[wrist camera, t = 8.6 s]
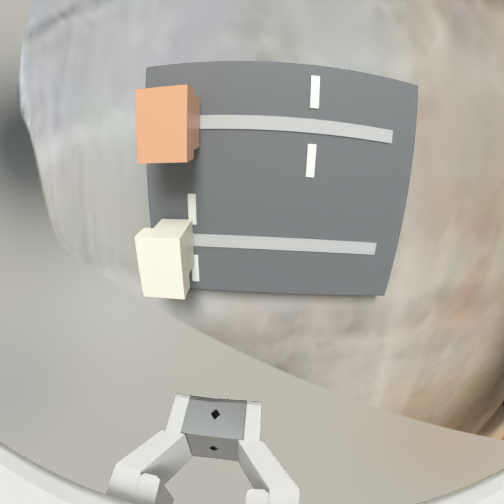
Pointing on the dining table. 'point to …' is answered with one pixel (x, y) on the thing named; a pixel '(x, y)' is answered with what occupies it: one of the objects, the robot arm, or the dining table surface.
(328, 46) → the dining table surface
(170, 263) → the cream fader
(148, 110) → the terracotta fader
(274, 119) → the console
